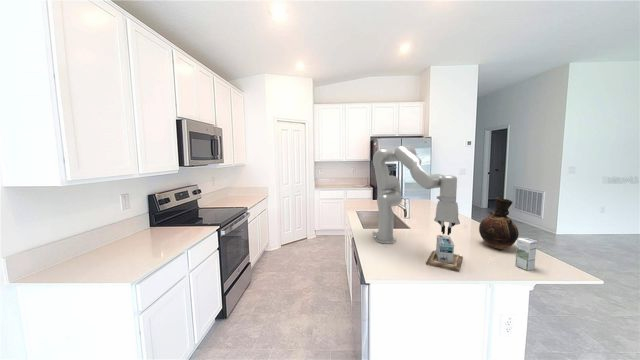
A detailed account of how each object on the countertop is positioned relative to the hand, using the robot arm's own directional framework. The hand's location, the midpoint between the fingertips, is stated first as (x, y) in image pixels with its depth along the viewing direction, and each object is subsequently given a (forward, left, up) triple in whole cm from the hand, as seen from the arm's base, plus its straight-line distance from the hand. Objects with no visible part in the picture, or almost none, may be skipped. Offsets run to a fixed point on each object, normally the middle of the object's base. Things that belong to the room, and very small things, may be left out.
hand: (446, 233), depth 129 cm
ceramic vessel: (+23, +39, -15) cm, 48 cm away
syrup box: (+34, +14, -15) cm, 40 cm away
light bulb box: (0, 0, -14) cm, 14 cm away
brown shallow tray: (0, 0, -15) cm, 15 cm away
